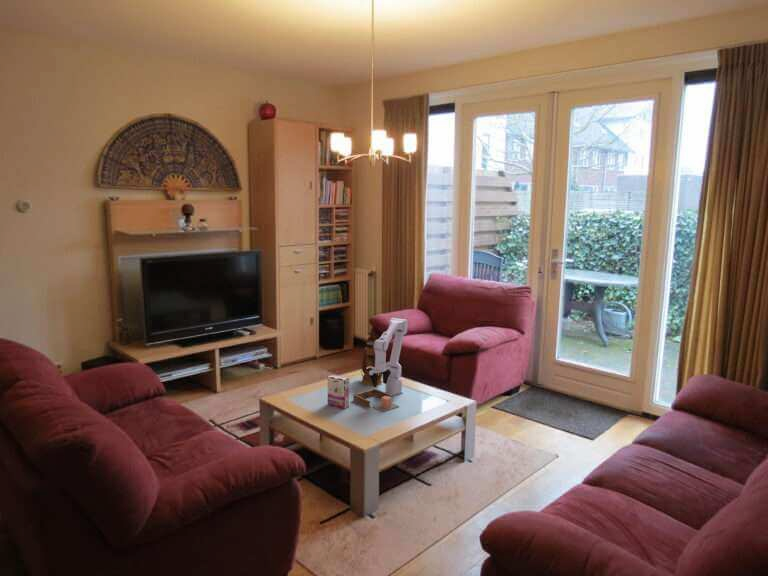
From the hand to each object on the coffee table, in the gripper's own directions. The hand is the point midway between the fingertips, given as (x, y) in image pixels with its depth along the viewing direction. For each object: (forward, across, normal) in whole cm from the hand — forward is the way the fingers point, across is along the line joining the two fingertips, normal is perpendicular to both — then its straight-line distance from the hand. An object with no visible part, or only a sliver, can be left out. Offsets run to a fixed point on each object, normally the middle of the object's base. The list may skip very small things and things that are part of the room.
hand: (379, 384), depth 300 cm
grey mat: (+10, +2, +7) cm, 13 cm away
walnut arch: (+10, +2, -5) cm, 11 cm away
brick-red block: (+10, +2, +7) cm, 12 cm away
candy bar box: (+10, +20, -11) cm, 25 cm away
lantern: (+11, -19, -27) cm, 35 cm away
